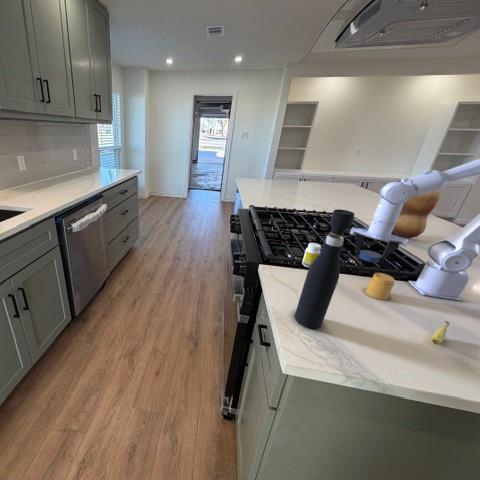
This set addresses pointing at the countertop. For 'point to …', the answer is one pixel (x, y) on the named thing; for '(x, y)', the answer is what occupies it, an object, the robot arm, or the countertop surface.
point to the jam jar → (380, 286)
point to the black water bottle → (323, 274)
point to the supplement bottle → (311, 254)
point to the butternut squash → (415, 215)
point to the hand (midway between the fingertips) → (368, 258)
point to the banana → (440, 334)
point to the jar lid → (369, 256)
